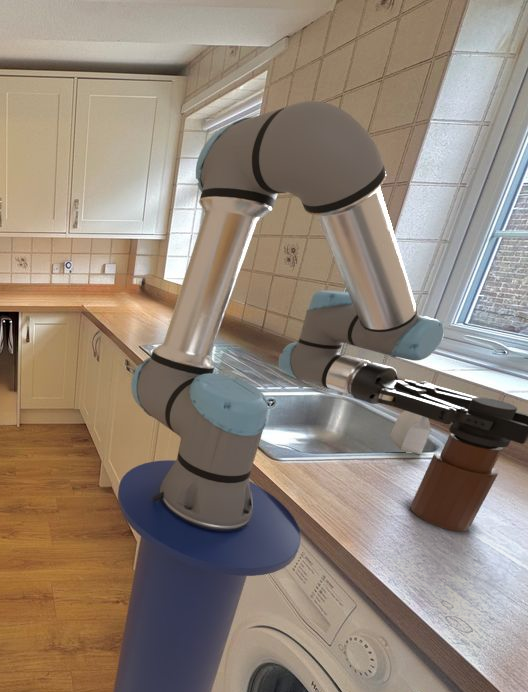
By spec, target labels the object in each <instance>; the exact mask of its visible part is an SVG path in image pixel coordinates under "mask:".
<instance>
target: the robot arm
mask: <svg viewBox="0 0 528 692" xmlns="http://www.w3.org/2000/svg"><path fill="white" fill-rule="evenodd" d="M195 165H196V166H195V179H196V180H197V181H198V182H197V184H196V185H197V188H198V189H199V190H200V192H201V193H200V197H199V200H198V204H199V205H200V207H201V209H202V210H203V217H202V220H201V224H200V227H199V230H198V233H197V236H196V239H195V243H194V245H193V248H192V251H191V256H190V259H189V262H188V265H187V268H186V271H185V274H184V278H183V281H182V284H181V287H180V290H179V293H178V297H177V300H176V303H175V306H174V309H173V311H172V315H171V319H170V321H169V324H168V328H167V331H166V334H165V338H164V340H163V343H161V344H160V345H157V346H155V347H154V348H153V350H152V352H151V355H150V357H147V358H146V359H144V360H143V362H142V363H141V364H139V365H138V366H137V367H136V369H135V371H134V372H133V374H132V378H131V385H130V387H131V388H130V389H131V394H132V397H133V400H134V402H135V404H137V406H138V407H140V409H142V410H143V412H144V413H145V414H147V415H148V416H149V417H151V418H152V419H153V418H154V419H155V420H156V421H157V422H159V423H160V424H162V425H163V426H165V427H166V428H168V429H169V430H170V431H171V432H173V433H174V434H176V435H177V436H178V437H179V438H180V442H179V446H178V452H177V456H176V460H175V463H174V464H173V466H172V467H171V469H170V470H169V472H168V473H167V475H166V477H165V478H164V480H163V482H162V484H161V488H160V493H159V494H158V495H156V496H154V497H152V498H153V500H154V501H157V500H159V499H160V500H161V503H162V504H163V506H164V507H165V508H166V509H167V510H168V512H170V513H171V514H172V515H173V516H175V517H176V518H177V519H179V520H181V521H182V522H184V523H186V524H188V525H191V526H193V527H196V528H199V529H202V530H205V531H210V532H216V533H232V532H237V531H240V530H242V529H244V528H246V527H247V526H248V524H249V522H250V519H251V516H252V492H250V484H249V481H250V475H251V472H252V469H253V465H254V462H255V458H256V456H257V455H256V454H257V452H258V449H259V445H260V441H261V439H262V435H263V433H264V429H265V427H266V422H267V413H268V400H267V397H266V396H265V394H264V393H263V392H262V391H261V390H260V389H259V388H258V387H256V386H255V385H253V384H252V383H249V382H248V381H246V380H243V379H241V378H238V377H231V375H228V374H222V373H214V370H215V368H216V364H215V362H214V360H213V359H212V357H211V353H212V350H213V347H214V346H215V345H214V344H215V342H216V339H217V336H218V334H219V331H220V329H221V328H220V327H221V325H222V322H223V320H224V317H225V314H226V311H227V308H228V305H229V302H230V299H231V297H232V293H233V291H234V289H235V286H236V284H237V283H236V282H237V280H238V277H239V274H240V271H241V269H242V266H243V263H244V261H245V258H246V255H247V251H248V249H249V246H250V244H251V240H252V238H253V236H254V232H255V229H256V226H257V223H258V222H259V221H260V219H262V218H264V217H265V216H267V215H268V214H270V213H272V210H273V208H274V205H275V203H276V199H277V197H278V194H286V193H287V194H291V195H294V196H295V197H296V198H298V199H299V200H300V201H301V204H302V206H303V208H304V210H305V212H306V213H307V214H310V215H313V216H316V218H317V220H318V222H319V226H320V227H321V230H322V232H323V235H324V238H325V239H326V242H327V245H328V247H329V250H330V252H331V254H332V256H333V259H334V262H335V264H336V266H337V268H338V271H339V273H340V274H339V275H340V277H341V278H342V281H343V283H344V286H345V288H346V291H341V290H327V289H326V290H325V289H323V290H322V289H321V290H317V291H315V292H314V293H313V294H312V295H311V299H310V302H309V304H308V307H307V309H306V310H305V316H304V319H303V323H302V327H301V331H300V335H299V338H298V340H297V341H294V342H291V343H289V344H287V345H286V346H285V347H284V348H283V350H282V353H280V354H279V358H278V368H279V370H280V371H281V372H282V373H284V374H286V375H288V376H290V377H292V378H295V379H297V380H299V381H303V382H306V383H310V384H313V385H316V386H319V387H322V388H325V389H328V390H331V391H333V392H334V391H335V392H336V394H337V395H338V396H342V395H346V396H348V397H353V398H354V399H356V400H359V401H362V402H365V403H367V404H371V405H378V404H381V405H385V406H390V407H394V408H397V409H400V410H403V411H408V412H411V413H414V414H417V415H420V416H423V417H426V418H429V420H433V421H435V422H438V423H442V424H443V425H452V427H453V428H457V429H459V428H460V426H461V424H462V423H464V425H465V426H468V427H471V428H474V429H478V430H481V431H484V432H487V433H490V434H493V435H496V436H499V437H502V438H505V439H508V440H511V441H512V442H514V443H517V444H521V445H524V444H525V443H527V440H528V414H526V413H523V412H519V411H516V413H515V414H514V416H513V418H512V420H509V419H506V418H503V417H499V416H496V415H492V414H489V413H485V412H482V411H479V410H475V409H471V410H470V412H469V413H467V412H468V410H467V409H468V407H469V404H470V402H471V400H472V398H475V397H476V396H475V395H472V394H467V393H464V392H460V391H456V390H453V389H450V388H446V387H442V386H438V385H435V384H433V383H430V382H428V381H419V383H418V382H417V381H415V380H412V379H411V380H410V379H404V380H400V379H399V378H398V373H397V370H396V369H395V368H394V367H392V366H389V365H386V364H381V363H379V362H373V361H372V362H371V361H369V360H367V359H364V358H359V357H354V356H351V355H348V354H343V353H340V351H341V349H342V347H343V344H344V345H345V344H346V345H348V346H349V345H350V346H354V347H357V348H361V349H364V350H368V351H372V352H376V353H379V354H383V355H385V356H389V357H392V358H399V359H404V360H409V361H416V362H417V361H422V360H424V359H426V358H428V357H430V356H432V354H433V353H434V352H435V351H436V350H438V348H439V346H440V345H441V343H442V341H443V339H444V336H445V327H444V324H443V322H441V321H440V320H439V319H435V318H432V317H429V316H427V315H424V316H421V315H420V313H419V312H418V308H417V306H416V302H415V299H414V296H413V292H412V289H411V285H410V283H409V279H408V275H407V272H406V269H405V266H404V263H403V260H402V256H401V253H400V249H399V246H398V243H397V239H396V237H395V234H394V230H393V226H392V222H391V220H390V216H389V214H388V210H387V206H386V202H385V201H384V197H383V193H382V190H381V186H382V185H383V183H384V182H385V180H386V178H387V171H386V167H385V164H384V161H383V157H382V154H381V152H380V150H379V148H378V146H377V144H376V143H375V141H374V140H373V138H372V137H371V135H370V134H369V132H368V131H367V129H365V128H364V127H363V125H362V124H361V123H360V122H358V120H356V118H354V117H353V116H352V115H351V114H350V113H349V112H347V111H345V109H342V108H340V107H338V106H336V105H334V104H331V103H328V102H325V101H318V100H317V101H316V100H306V101H301V102H297V103H294V104H291V105H288V106H286V107H282V108H279V109H275V110H272V111H268V112H265V113H261V114H259V115H254V116H248V117H243V118H240V119H238V120H235V121H234V122H231V123H230V124H227V125H225V126H223V127H221V128H219V129H218V130H217V131H216V132H214V133H213V134H212V135H211V136H210V137H209V139H208V140H207V141H206V142H205V144H204V145H203V147H202V149H201V151H200V152H199V155H198V158H197V160H196V164H195ZM489 399H491V398H489ZM511 441H510V442H511Z"/></svg>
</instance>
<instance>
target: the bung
mask: <svg viewBox="0 0 528 692" xmlns="http://www.w3.org/2000/svg"><path fill="white" fill-rule="evenodd" d="M471 409H475V410H479V411H482V412H485V413H489V414H492V415H496V416H499V417H503V418H506V419H509V420H512V418H513V416H514V414H515V413H516V412H518V407H517V406H515V404H512V403H508V402H506V401H503V400H498V399H493V398H490V399H489V398H488V397H478V396H475V398H472V400H471V402H470V404H469V407H468V409H467V410H468V412H467V413H469V412H470V410H471ZM448 431H449V432H450V434H454V435H456V436H458V437H459V438H458V439H459V440H461V441H463V442H465V443H468V444H471V445H474V446H478V447H483V448H489V449H492V447H502V448H507V447H508V446H509V445H510V443H511V440H508V439H505V438H502V437H499V436H496V435H493V434H490V433H487V432H484V431H481V430H478V429H474V428H471V427H468V426H465V425H464V423H462V424H461V426H460V428H459V429H457V428H453V427H452V424H450V426H449V429H448Z"/></svg>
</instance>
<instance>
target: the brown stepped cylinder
mask: <svg viewBox="0 0 528 692" xmlns="http://www.w3.org/2000/svg"><path fill="white" fill-rule="evenodd" d="M458 438H459V437H458V436H456V435H454V434H452V433H450V434H448V437H447V440H446V442H445V443H444V446H443V448H442V450H438V451H435V452H434V453H433V455H432V458H431V460H430V461H429V464H428V466H427V469H426V471H425V473H424V475H423V477H422V479H421V481H420V484H419V486H418V488H417V490H416V492H415V494H414V496H413V499H412V501H411V503H410V510H411V511H412V513H413V514H415V515H416V516H417V517H418V518H420V519H422V520H423V521H425V522H427V523H429V524H432V525H434V526H437V527H438V528H442V529H445V530H450V531H455V532H466V531H468V530H469V528H470V527H472V524H473V522H474V520H475V518H476V517H477V515H478V513H479V511H480V509H481V507H482V506H483V503H484V501H485V499H486V498H487V496H488V494H489V492H490V490H491V488H492V486H493V485H494V483H495V481H496V479H497V477H498V475H499V470H498V469H497V468H496V467H495V465H496V463H497V462H498V460H499V457H500V455H501V454H502V451H503V450H504V447H492V449H489V448H483V447H478V446H474V445H471V444H468V443H465V442H463V441H461V440H459V439H458Z"/></svg>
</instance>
